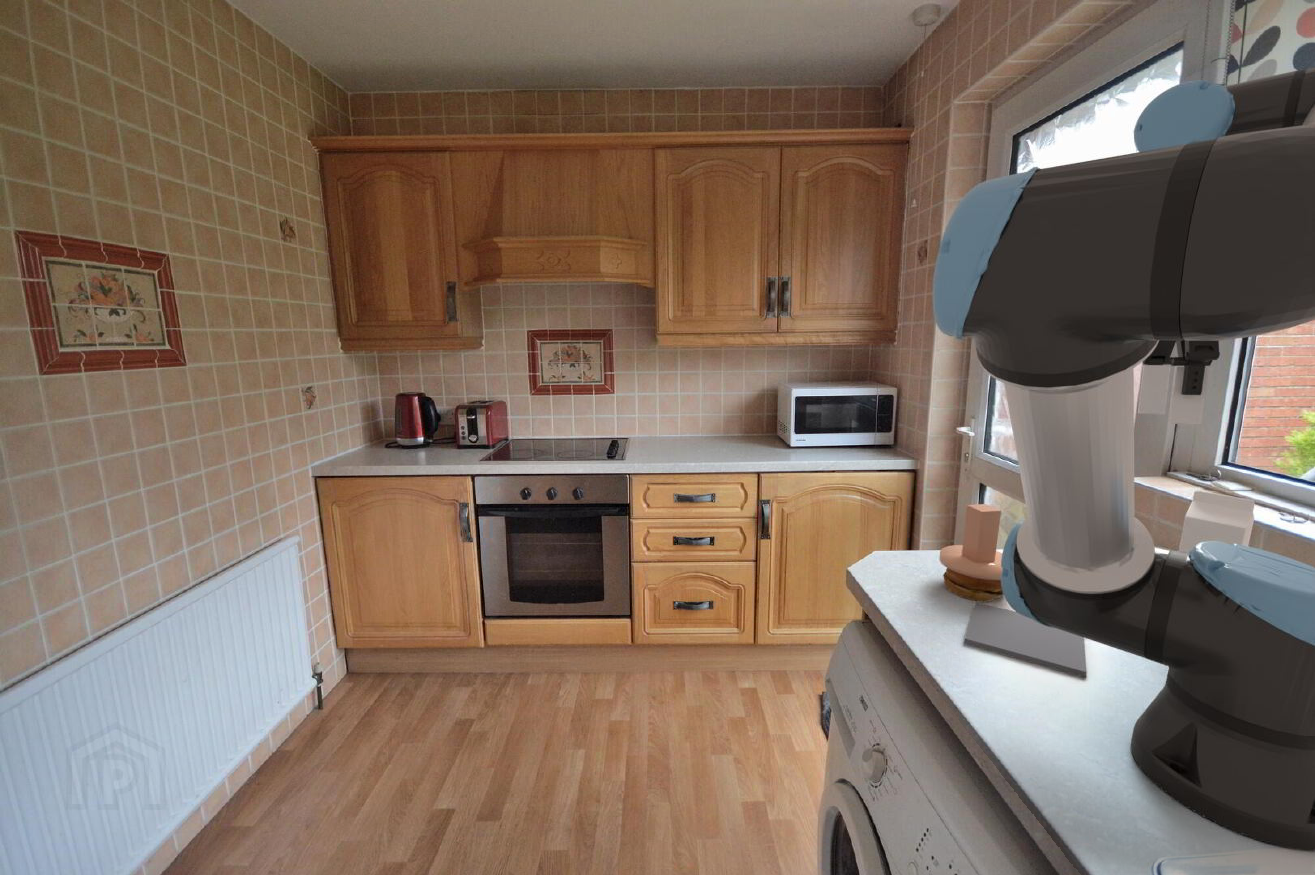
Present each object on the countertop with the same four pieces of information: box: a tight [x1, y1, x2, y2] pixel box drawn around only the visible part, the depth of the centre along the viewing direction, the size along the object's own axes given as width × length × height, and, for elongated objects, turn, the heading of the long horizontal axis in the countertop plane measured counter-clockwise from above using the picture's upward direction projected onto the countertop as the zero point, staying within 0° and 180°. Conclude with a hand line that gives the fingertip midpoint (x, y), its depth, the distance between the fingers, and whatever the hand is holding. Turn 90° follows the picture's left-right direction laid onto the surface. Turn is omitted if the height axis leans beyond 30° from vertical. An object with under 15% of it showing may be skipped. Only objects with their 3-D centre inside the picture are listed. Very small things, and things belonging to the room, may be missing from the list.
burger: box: [942, 567, 1004, 603], centre depth 97 cm, size 10×9×5 cm
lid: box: [938, 503, 1003, 580], centre depth 95 cm, size 12×12×10 cm
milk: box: [1178, 490, 1255, 554], centre depth 79 cm, size 6×6×22 cm
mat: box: [963, 601, 1088, 679], centre depth 82 cm, size 13×14×1 cm
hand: (1166, 418), depth 70 cm, fingers open, 13 cm apart
